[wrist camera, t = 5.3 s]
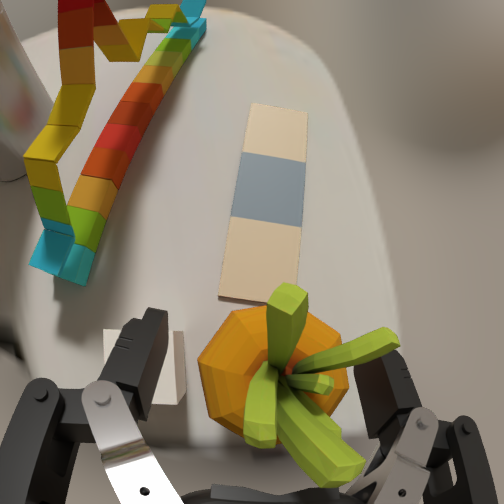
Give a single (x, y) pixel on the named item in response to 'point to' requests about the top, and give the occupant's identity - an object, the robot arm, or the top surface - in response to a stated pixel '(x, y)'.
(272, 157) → the flat strip
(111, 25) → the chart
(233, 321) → the carrot
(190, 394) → the top surface
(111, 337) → the die
